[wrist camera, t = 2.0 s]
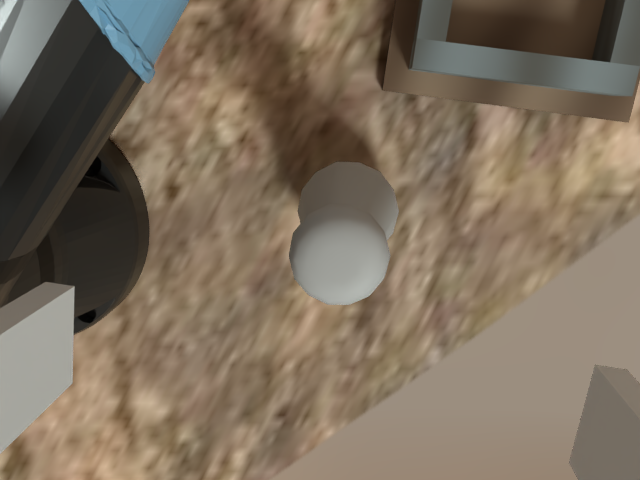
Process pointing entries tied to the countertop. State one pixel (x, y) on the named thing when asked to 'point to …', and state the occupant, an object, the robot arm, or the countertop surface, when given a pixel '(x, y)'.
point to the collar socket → (519, 54)
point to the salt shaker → (343, 233)
